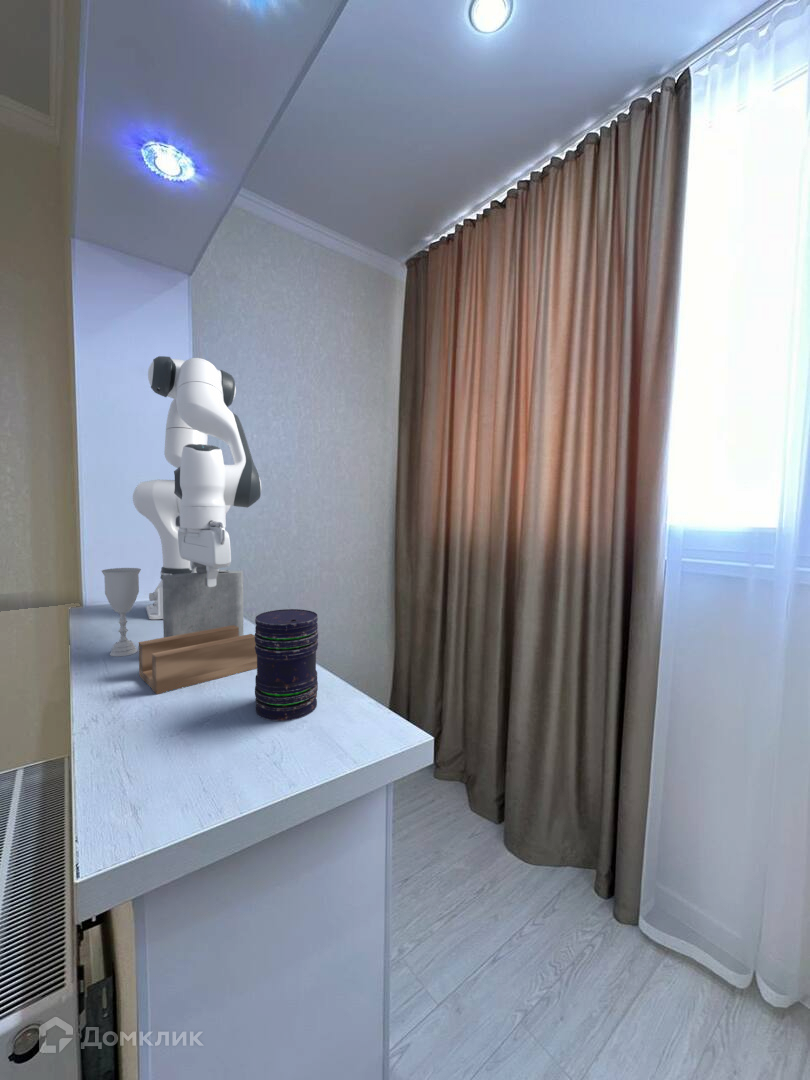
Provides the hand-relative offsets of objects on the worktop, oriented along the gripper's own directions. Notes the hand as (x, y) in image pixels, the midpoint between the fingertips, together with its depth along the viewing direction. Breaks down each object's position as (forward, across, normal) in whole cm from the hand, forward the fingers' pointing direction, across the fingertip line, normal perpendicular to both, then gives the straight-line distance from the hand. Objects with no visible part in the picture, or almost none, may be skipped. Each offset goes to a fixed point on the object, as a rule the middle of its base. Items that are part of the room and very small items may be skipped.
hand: (204, 583), depth 94 cm
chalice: (+15, +11, +13) cm, 23 cm away
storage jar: (+15, -35, 0) cm, 38 cm away
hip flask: (+15, 0, 0) cm, 15 cm away
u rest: (+15, -11, +5) cm, 19 cm away
